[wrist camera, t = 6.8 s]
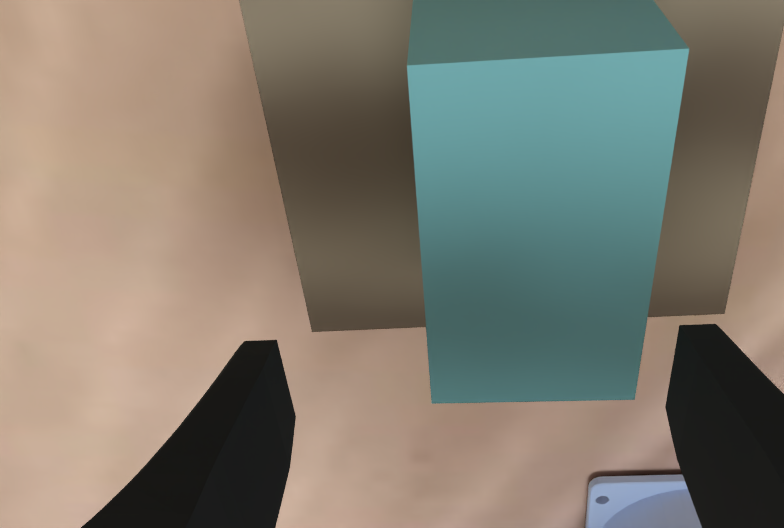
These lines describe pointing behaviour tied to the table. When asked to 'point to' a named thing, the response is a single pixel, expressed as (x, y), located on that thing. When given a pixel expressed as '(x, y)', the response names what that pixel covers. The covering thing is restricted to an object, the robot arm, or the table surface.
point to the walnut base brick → (396, 160)
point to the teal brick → (540, 190)
